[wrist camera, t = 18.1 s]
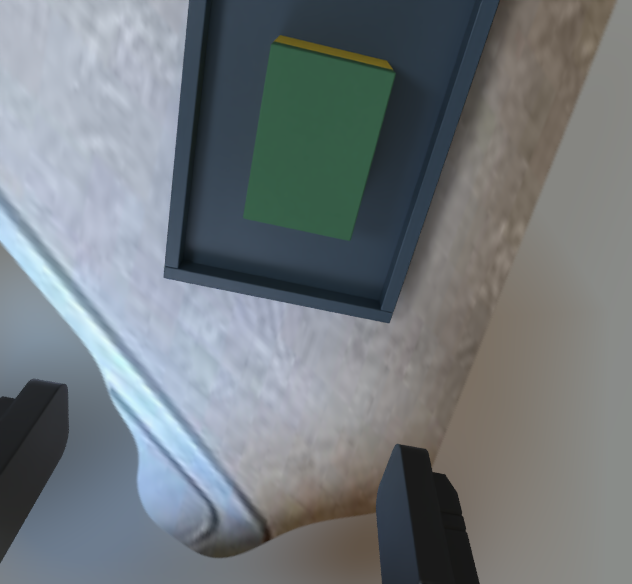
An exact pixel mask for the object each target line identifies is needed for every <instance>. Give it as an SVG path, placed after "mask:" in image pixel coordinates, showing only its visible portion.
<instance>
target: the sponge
mask: <svg viewBox="0 0 632 584" xmlns="http://www.w3.org/2000/svg"><path fill="white" fill-rule="evenodd" d="M395 76H396V73H395V72H394V70H393V69H392V67H391V66H390V64H389V63H388V62H387V61H386V60H382V59H378V58H374V57H369V56H365V55H361V54H357V53H353V52H349V51H344V50H340V49H336V48H332V47H328V46H324V45H319V44H315V43H311V42H307V41H303V40H299V39H295V38H290V37H286V36H282V35H280V36H279V37H278V38H277V39H276V40H275V41H274V42H273V43H272V44H271V46H270V53H269V59H268V65H267V71H266V77H265V84H264V90H263V96H262V102H261V108H260V115H259V121H258V127H257V133H256V139H255V146H254V152H253V158H252V164H251V170H250V177H249V183H248V189H247V195H246V201H245V208H244V214H243V218H244V219H248V220H252V221H257V222H262V223H267V224H271V225H276V226H281V227H286V228H290V229H295V230H300V231H304V232H309V233H314V234H319V235H323V236H328V237H333V238H338V239H342V240H347V241H350V240H351V238H352V234H353V230H354V227H355V223H356V219H357V216H358V212H359V208H360V204H361V201H362V197H363V193H364V190H365V186H366V182H367V179H368V175H369V171H370V168H371V164H372V160H373V157H374V153H375V149H376V146H377V142H378V138H379V135H380V131H381V127H382V124H383V120H384V116H385V113H386V109H387V105H388V101H389V98H390V94H391V90H392V87H393V83H394V79H395Z"/></svg>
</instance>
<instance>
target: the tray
mask: <svg viewBox="0 0 632 584" xmlns="http://www.w3.org/2000/svg"><path fill="white" fill-rule="evenodd" d="M499 1H500V0H189V8H188V18H187V29H186V40H185V51H184V62H183V72H182V83H181V94H180V105H179V116H178V126H177V137H176V148H175V159H174V170H173V180H172V191H171V202H170V213H169V224H168V235H167V245H166V256H165V267H164V278H167V279H172V280H177V281H182V282H187V283H192V284H197V285H201V286H206V287H211V288H216V289H221V290H226V291H231V292H236V293H241V294H246V295H251V296H256V297H261V298H266V299H271V300H276V301H281V302H286V303H291V304H296V305H301V306H305V307H310V308H315V309H320V310H325V311H330V312H335V313H340V314H345V315H350V316H355V317H360V318H365V319H370V320H375V321H380V322H385V323H390V320H391V318H392V315H393V312H394V309H395V306H396V303H397V300H398V297H399V294H400V291H401V288H402V285H403V283H404V280H405V277H406V274H407V271H408V268H409V265H410V262H411V259H412V256H413V253H414V250H415V247H416V244H417V241H418V239H419V236H420V233H421V230H422V227H423V224H424V221H425V218H426V215H427V212H428V209H429V206H430V203H431V200H432V197H433V195H434V192H435V189H436V186H437V183H438V180H439V177H440V174H441V171H442V168H443V165H444V162H445V159H446V156H447V154H448V151H449V148H450V145H451V142H452V139H453V136H454V133H455V130H456V127H457V124H458V121H459V118H460V115H461V112H462V110H463V107H464V104H465V101H466V98H467V95H468V92H469V89H470V86H471V83H472V80H473V77H474V74H475V71H476V68H477V66H478V63H479V60H480V57H481V54H482V51H483V48H484V45H485V42H486V39H487V36H488V33H489V30H490V27H491V24H492V22H493V19H494V16H495V13H496V10H497V7H498V4H499ZM280 35H282V36H286V37H290V38H295V39H299V40H303V41H307V42H311V43H315V44H319V45H324V46H328V47H332V48H336V49H340V50H344V51H349V52H353V53H357V54H361V55H365V56H369V57H374V58H378V59H382V60H386V61H387V62H388V63H389V64H390V66H391V67H392V69H393V70H394V72H395V73H396V76H395V79H394V83H393V87H392V90H391V94H390V98H389V101H388V105H387V109H386V113H385V116H384V120H383V124H382V127H381V131H380V135H379V138H378V142H377V146H376V149H375V153H374V157H373V160H372V164H371V168H370V171H369V175H368V179H367V182H366V186H365V190H364V193H363V197H362V201H361V204H360V208H359V212H358V216H357V219H356V223H355V227H354V230H353V234H352V238H351V240H350V241H347V240H342V239H338V238H333V237H328V236H323V235H319V234H314V233H309V232H304V231H300V230H295V229H290V228H286V227H281V226H276V225H271V224H267V223H262V222H257V221H252V220H248V219H244V218H243V214H244V208H245V201H246V195H247V189H248V183H249V177H250V170H251V164H252V158H253V152H254V146H255V139H256V133H257V127H258V121H259V115H260V108H261V102H262V96H263V90H264V84H265V77H266V71H267V65H268V59H269V53H270V46H271V44H272V43H273V42H274V41H275V40H276V39H277V38H278V37H279V36H280Z"/></svg>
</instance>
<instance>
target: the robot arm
mask: <svg viewBox="0 0 632 584" xmlns="http://www.w3.org/2000/svg"><path fill="white" fill-rule="evenodd" d="M68 419H69V418H68V388H67V385H66V384H61V383H55V382H50V381H44V380H39V379H32V380H30V381H29V382H28V383H27V384H26V386H25V387H24V388H23V389H22V391H21V392H20V393H19V395H18V396H17V397H16V399H14V398H8V397H1V398H0V563H1V561H2V559H3V557H4V556H5V554H6V552H7V551H8V549H9V547H10V545H11V544H12V542H13V540H14V539H15V537H16V535H17V533H18V532H19V530H20V528H21V526H22V525H23V523H24V521H25V519H26V518H27V516H28V514H29V512H30V511H31V509H32V507H33V506H34V504H35V502H36V500H37V499H38V497H39V495H40V493H41V492H42V490H43V488H44V486H45V485H46V483H47V481H48V479H49V478H50V476H51V474H52V473H53V471H54V469H55V467H56V466H57V464H58V462H59V460H60V459H61V457H62V455H63V452H64V450H65V447H66V443H67V439H68V433H69V420H68ZM376 515H377V527H378V539H379V551H380V563H381V576H382V584H480V583H479V579H478V576H477V571H476V567H475V563H474V560H473V555H472V551H471V547H470V543H469V539H468V535H467V533H466V526H465V522H464V518H463V516H462V510H461V506H460V503H459V498H458V494H457V492H456V490H455V489H454V487H453V486H452V484H451V483H450V481H449V480H448V478H447V477H446V475H445V474H440V473H434V472H432V468H431V463H430V458H429V453H428V451H427V450H426V449H423V448H417V447H412V446H406V445H400V444H396V445H395V447H394V449H393V451H392V454H391V456H390V459H389V461H388V464H387V467H386V469H385V472H384V474H383V477H382V480H381V482H380V485H379V488H378V493H377V501H376Z"/></svg>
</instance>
